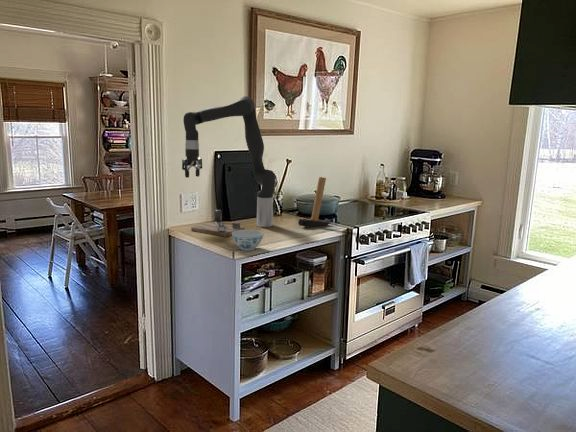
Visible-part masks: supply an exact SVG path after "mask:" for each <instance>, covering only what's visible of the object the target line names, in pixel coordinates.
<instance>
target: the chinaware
mask: <svg viewBox="0 0 576 432" xmlns="http://www.w3.org/2000/svg"><path fill="white" fill-rule="evenodd" d="M231 236H232V239H233V242H234V243H235V244H236V245H237V246H238V248H239V247H240V250H242V251H246V252H247V251H248V252H249V251H253V250H255V248H256V247H258V246H259V244H260V243H261V242H262V240H263V237H264V232H263V231H261V230H258V229H245V230H237V231H234V232H232V235H231Z"/></svg>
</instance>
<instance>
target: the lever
mask: <svg viewBox="0 0 576 432" xmlns="http://www.w3.org/2000/svg"><path fill="white" fill-rule="evenodd" d="M213 214H214V215H213V216H214V218H213V221H214V223H215V224H216V226H217V228H218V230H219V231H224V224H225V222H222V209H214V211H213Z"/></svg>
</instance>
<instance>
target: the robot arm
mask: <svg viewBox="0 0 576 432" xmlns="http://www.w3.org/2000/svg"><path fill="white" fill-rule="evenodd" d="M255 107H256V106H255V102H254V100H253V98H251V97H250V96H245V95H244V96H242V97H240V98H239V99H238V100H237V101H236V102H233V103H230V104H227V105H221V106H220V105H219V106H212V107H208V108H203V109H201V110H199V111H188V112H185V114H184V115H183V119H182V120H183V126H184V130H185V145H184V146H185V149H184V151H185V157H186V158H183V159H182V160H181V162H182V163H181V170H183V171H184V177H185V178H187V179H188V178H190V170H191V168H192V167H194V168H195V177H200V173H201V170H202V169H203V158H202V157H201V158H200V143H199V131H198V130H197V128H196V127H197V125H200V124H203V123H206V122H207V123H208V122H213V121H217V120H220V119H224V118H230V117H242V120H243V122H244V123H243V124H244V137H245V143H246V148H247V150H248V153H249V157H250V161H251V166H252V171H253V177H254V181H255V182H256V184H257V185H261V189H260V190H259V191H257V193H256V226H257V227H258V228H260V227H261V228H270V227H273V225H274V207H273V205H274V202H273V201H274V200H273V199H274V193H275V188H276V187H275V185H276V174H275V172H274V171H273V170H272V169H271V170H270V169H267V168H266V167H265V165H264V162H263V156H264V151H265V143H264V140H263V136H262V133H261V129H260V126H259V123H258V119H257V113H256V108H255ZM198 157H199V158H198Z"/></svg>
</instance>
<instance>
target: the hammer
mask: <svg viewBox="0 0 576 432" xmlns="http://www.w3.org/2000/svg"><path fill="white" fill-rule="evenodd" d="M326 181H327V178H326V177H322V176H319V177H318V182H317V186H316V192H315V197H314V202H313V207H312V214H311V217H310V218H299V219H298V225H299V226H302V227H306V228H310V229H312V228H313V229H314V228H316V227H317V228H324V226H326V227H328V226H329V224H330V223H331V221H332V219H329V218H324V220H320V219H319V217H320V212H321V206H322V201H323V198H324V197H323V196H324V191H325V186H326ZM317 228H316V229H317Z"/></svg>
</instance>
